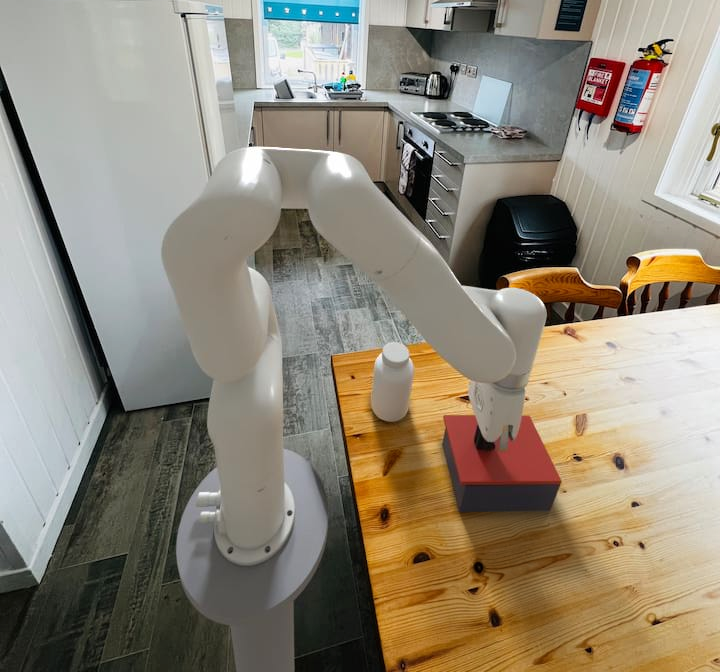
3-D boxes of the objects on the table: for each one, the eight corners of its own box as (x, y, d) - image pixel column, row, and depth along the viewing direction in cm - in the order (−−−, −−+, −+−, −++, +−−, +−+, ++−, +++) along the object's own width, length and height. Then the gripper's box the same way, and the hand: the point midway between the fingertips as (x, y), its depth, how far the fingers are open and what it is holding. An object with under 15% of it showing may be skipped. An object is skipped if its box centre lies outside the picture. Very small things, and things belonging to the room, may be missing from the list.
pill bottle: (381, 429, 77) (387, 372, 72) (364, 396, 84) (368, 342, 78) (415, 415, 81) (424, 360, 75) (396, 385, 87) (403, 332, 82)
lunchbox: (458, 512, 65) (465, 486, 62) (442, 443, 75) (446, 418, 73) (550, 510, 66) (560, 484, 63) (520, 443, 76) (528, 418, 74)
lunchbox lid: (460, 485, 62) (461, 481, 62) (442, 417, 73) (443, 414, 72) (560, 484, 63) (562, 481, 63) (528, 418, 74) (529, 415, 74)
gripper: (465, 330, 67) (450, 406, 74) (498, 408, 53) (476, 493, 60) (508, 330, 68) (489, 406, 75) (552, 407, 54) (523, 492, 61)
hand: (483, 445), depth 67 cm, fingers closed
